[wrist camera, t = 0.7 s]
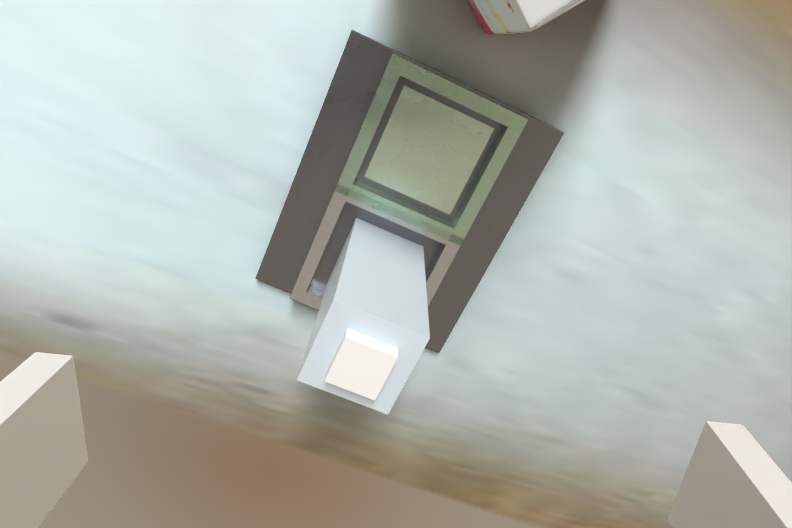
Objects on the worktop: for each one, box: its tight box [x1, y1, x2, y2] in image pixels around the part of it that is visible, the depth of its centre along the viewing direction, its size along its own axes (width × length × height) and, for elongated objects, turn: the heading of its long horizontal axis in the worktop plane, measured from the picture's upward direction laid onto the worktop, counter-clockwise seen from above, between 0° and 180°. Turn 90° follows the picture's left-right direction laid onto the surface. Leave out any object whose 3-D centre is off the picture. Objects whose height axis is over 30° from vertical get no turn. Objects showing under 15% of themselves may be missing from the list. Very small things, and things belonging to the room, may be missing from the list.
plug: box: [297, 218, 430, 415], centre depth 29 cm, size 4×4×12 cm
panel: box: [256, 30, 564, 352], centre depth 33 cm, size 13×16×2 cm
